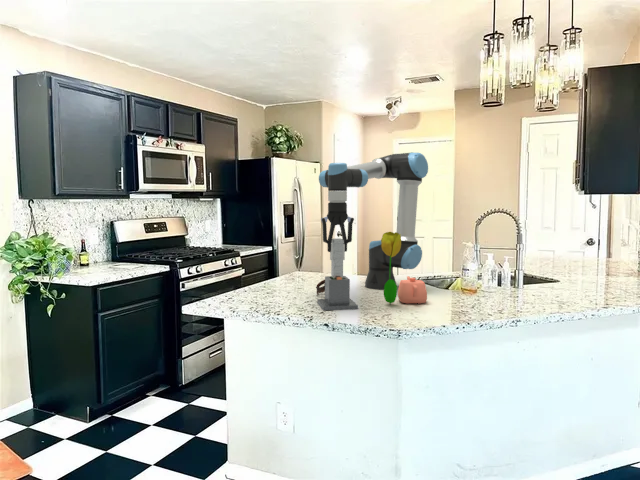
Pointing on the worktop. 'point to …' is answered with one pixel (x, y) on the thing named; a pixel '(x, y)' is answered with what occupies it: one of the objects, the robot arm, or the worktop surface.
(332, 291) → the stand base
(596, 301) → the worktop surface
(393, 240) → the flower
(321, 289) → the pottery mug
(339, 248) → the column
